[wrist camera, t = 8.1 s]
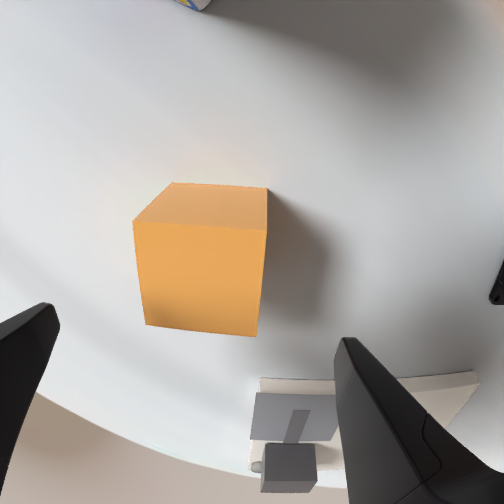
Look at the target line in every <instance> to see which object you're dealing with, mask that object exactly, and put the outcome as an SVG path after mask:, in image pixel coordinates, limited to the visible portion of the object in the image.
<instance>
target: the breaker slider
mask: <svg viewBox="0 0 504 504" xmlns="http://www.w3.org/2000/svg"><path fill="white" fill-rule="evenodd" d="M317 481H318V480H317V466H316V454H315V444H265V447H264V451H263V455H262V467H261V492H264V493H265V492H266V493H309V492H310V491H311V489H312V488H313V486H314V485H315V484H316V482H317Z"/></svg>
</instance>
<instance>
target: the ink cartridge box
mask: <svg viewBox="0 0 504 504" xmlns="http://www.w3.org/2000/svg"><path fill="white" fill-rule="evenodd" d="M175 1H177V2H179V3H181V4H183V5H185V6H187V7H189V8H191V9H194V10H196V11H200V10H202V9H204V8H205V7H206V6H207V5H208V4H209V2H210V1H211V0H175Z"/></svg>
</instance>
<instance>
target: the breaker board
mask: <svg viewBox="0 0 504 504" xmlns="http://www.w3.org/2000/svg"><path fill="white" fill-rule="evenodd" d="M396 379H397V380H398V381H399V382H400V383H401V384H402V386H403V387H404V388H405V389H406V390H407V391H408V392H409V393H410V394H411V395H412V396H413V397H414V398H415V399H416V400H417V401H418V402H419V403H420V404H421V405H422V406H423V407H424V408H425V409H426V410H427V413H430V414H431V415H432V417H433V418H434V419H435V420H436V421H437V422H438V423H439V424H440V425H441V426H442V427H443V428H444V429H445V428H446V427H447V426H448V424H449V423H450V422H451V421H452V420H453V418H454V417H455V416H456V415H457V413H458V412H459V411H460V410H461V408H462V407H463V406H464V405H465V403H466V402H467V401H468V399H469V398H470V397H471V395H472V394H473V393H474V391H475V390H476V389H477V387H478V386H479V384H480V382H479V380H478V378H477V376H476V374H475V372H474V371H468V372H460V373H452V374H444V375H434V376H423V377H411V378H396ZM250 440H251V446H250V453H249V462H248V470H251V471H252V472H255V473H261V467H262V455H263V451H264V447H265V444H315V454H316V466H317V471H321V470H339V469H345V465H344V458H343V451H342V444H341V437H340V431H339V424H338V418H337V411H336V395H335V380H292V379H271V378H260V385H259V392H256V399H255V406H254V413H253V420H252V428H251V435H250Z"/></svg>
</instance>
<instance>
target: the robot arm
mask: <svg viewBox="0 0 504 504" xmlns="http://www.w3.org/2000/svg"><path fill="white" fill-rule="evenodd" d="M489 300H490V302H491V303H492V304H493V305H504V262H503V265H502V267H501V270H500V272H499V275H498V277H497V280H496V282H495V284H494V287H493V289H492V291H491V294H490V296H489ZM59 331H60V322H59V319H58V316H57V314H56V310H55V308H54V306H53V305H52V304H50V303H45V302H42V303H39V304H37V305H35V306H33V307H31V308H29V309H27V310H25V311H23V312H21V313H19V314H17V315H15V316H13V317H12V318H10V319H8V320H6V321H4V322H2V323H0V495H1V491H2V487H3V484H4V480H5V476H6V473H7V470H8V465H9V463H10V459H11V456H12V453H13V450H14V447H15V444H16V441H17V438H18V436H19V433H20V430H21V427H22V425H23V422H24V419H25V417H26V414H27V411H28V409H29V406H30V404H31V402H32V399H33V397H34V394H35V392H36V390H37V387H38V385H39V383H40V380H41V378H42V376H43V374H44V371H45V369H46V366H47V364H48V361H49V358H50V355H51V352H52V350H53V347H54V344H55V341H56V339H57V336H58V333H59ZM334 374H335V395H336V411H337V418H338V424H339V431H340V437H341V444H342V451H343V458H344V465H345V472H346V480H347V488H348V496H349V504H504V473H501V472H498V471H496V470H494V469H492V468H490V467H489V466H487V465H486V464H485V463H483V462H482V461H481V460H480V459H479V458H478V457H476V456H475V455H474V454H473V453H472V452H470V451H469V450H468V449H467V448H466V447H464V446H463V445H462V444H461V443H460V442H459V441H457V440H456V439H455V438H454V437H453V436H452V435H451V434H450V433H448V432H447V431H446V430H445V429H444V428H443V427H442V426H441V425H440V424H439V423H438V422H437V421H436V420H435V419H434V418H433V417H432V415H431V414H430V413H427V410H426V409H425V408H424V407H423V406H422V405H421V404H420V403H419V402H418V401H417V400H416V399H415V398H414V397H413V396H412V395H411V394H410V393H409V392H408V391H407V390H406V389H405V388H404V387H403V386H402V384H401V383H400V382H399V381H398V380H397V379H396V378H395V377H394V376H393V375H392V374H391V373H390V372H389V371H388V370H387V369H386V368H385V367H384V366H383V365H382V364H381V363H380V362H379V361H378V360H377V359H376V358H375V357H374V356H373V355H372V354H371V353H370V352H369V351H368V350H367V349H366V348H365V347H364V346H363V344H362V343H361V342H360V341H359V340H358V339H356V338H354V337H343V338H341V340H340V343H339V346H338V349H337V352H336V355H335V358H334Z"/></svg>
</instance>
